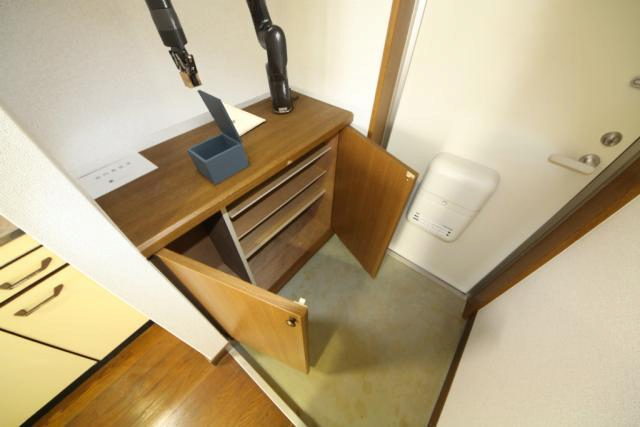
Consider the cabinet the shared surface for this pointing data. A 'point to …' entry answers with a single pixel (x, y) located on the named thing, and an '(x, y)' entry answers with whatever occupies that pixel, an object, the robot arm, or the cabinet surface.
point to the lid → (220, 115)
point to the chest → (218, 157)
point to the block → (188, 79)
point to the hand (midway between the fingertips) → (193, 84)
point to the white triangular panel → (242, 119)
